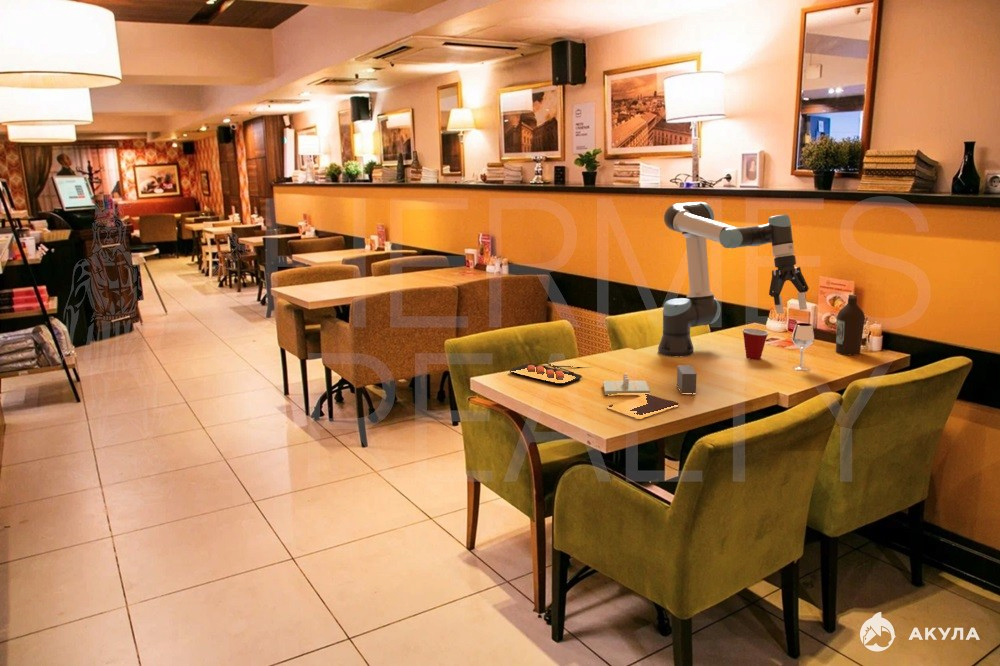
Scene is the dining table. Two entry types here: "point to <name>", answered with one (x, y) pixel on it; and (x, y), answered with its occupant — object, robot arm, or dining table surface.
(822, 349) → the dining table surface
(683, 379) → the block
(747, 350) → the plastic cup
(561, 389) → the dining table surface
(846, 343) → the olive oil
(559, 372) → the sushi plate
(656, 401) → the notebook
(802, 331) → the wineglass
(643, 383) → the board
